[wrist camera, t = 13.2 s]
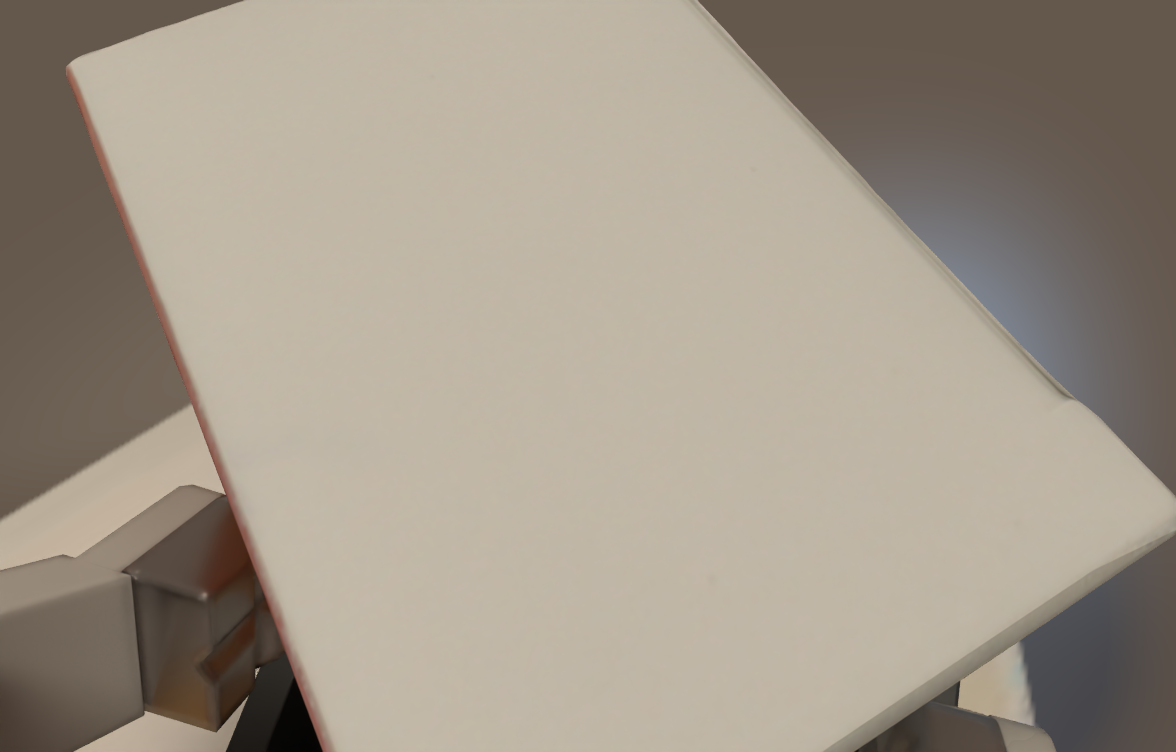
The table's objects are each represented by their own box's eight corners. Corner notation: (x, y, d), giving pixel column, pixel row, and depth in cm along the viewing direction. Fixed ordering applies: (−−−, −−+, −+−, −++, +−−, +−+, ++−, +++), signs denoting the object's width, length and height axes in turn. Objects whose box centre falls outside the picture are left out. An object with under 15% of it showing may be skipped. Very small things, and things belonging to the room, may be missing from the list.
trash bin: (865, 546, 26) (984, 462, 17) (789, 1038, 21) (898, 1286, 12) (476, 445, 28) (399, 323, 19) (328, 872, 23) (132, 977, 14)
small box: (353, 472, 16) (37, 39, 7) (591, 355, 18) (596, -142, 8) (534, 874, 13) (400, 1082, 4) (811, 695, 14) (1232, 512, 5)
